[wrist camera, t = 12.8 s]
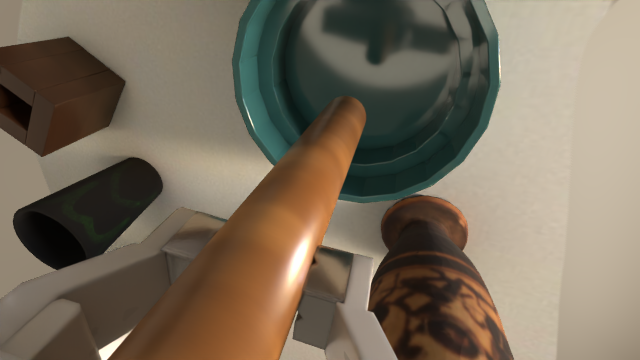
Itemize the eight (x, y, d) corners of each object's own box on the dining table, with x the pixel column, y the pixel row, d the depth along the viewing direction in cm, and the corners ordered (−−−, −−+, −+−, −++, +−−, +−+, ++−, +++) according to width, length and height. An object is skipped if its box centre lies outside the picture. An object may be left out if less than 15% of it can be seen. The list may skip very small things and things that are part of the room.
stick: (320, 114, 20) (-6, 493, 4) (345, 83, 19) (32, 440, 3) (350, 139, 21) (153, 586, 4) (376, 110, 19) (239, 570, 3)
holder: (56, 87, 36) (-25, 110, 29) (68, 36, 33) (-20, 50, 26) (108, 126, 37) (42, 157, 30) (125, 81, 34) (55, 105, 27)
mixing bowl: (235, 80, 31) (194, 102, 25) (356, -120, 22) (336, -158, 16) (372, 193, 34) (364, 238, 28) (531, 57, 25) (568, 80, 19)
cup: (101, 163, 40) (-2, 223, 30) (138, 138, 37) (36, 196, 27) (144, 212, 43) (62, 282, 33) (182, 192, 40) (104, 263, 30)
